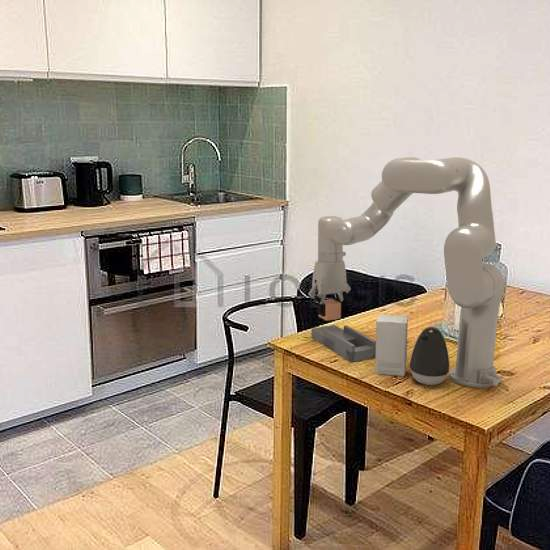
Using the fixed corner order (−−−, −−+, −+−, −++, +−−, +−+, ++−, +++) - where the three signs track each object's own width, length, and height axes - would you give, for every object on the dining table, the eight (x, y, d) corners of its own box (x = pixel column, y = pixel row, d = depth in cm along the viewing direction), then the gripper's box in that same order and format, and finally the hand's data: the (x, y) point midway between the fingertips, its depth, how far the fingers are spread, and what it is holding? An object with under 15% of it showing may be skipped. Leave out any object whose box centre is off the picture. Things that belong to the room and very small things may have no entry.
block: (340, 318, 200) (340, 302, 199) (326, 320, 198) (327, 305, 196) (332, 314, 204) (332, 299, 203) (318, 316, 202) (318, 301, 201)
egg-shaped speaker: (400, 381, 171) (404, 327, 168) (422, 370, 178) (426, 318, 175) (434, 393, 164) (438, 337, 161) (455, 381, 171) (459, 327, 168)
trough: (375, 357, 187) (376, 341, 186) (351, 362, 184) (352, 346, 183) (334, 333, 207) (334, 318, 206) (311, 337, 204) (311, 322, 202)
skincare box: (406, 368, 180) (409, 315, 176) (404, 377, 174) (408, 322, 170) (376, 365, 182) (379, 312, 178) (373, 374, 176) (376, 320, 172)
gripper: (347, 252, 203) (346, 307, 208) (299, 257, 196) (299, 314, 200) (360, 256, 197) (359, 313, 201) (312, 262, 189) (311, 321, 194)
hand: (329, 313), depth 201 cm, fingers closed on block, 4 cm apart
